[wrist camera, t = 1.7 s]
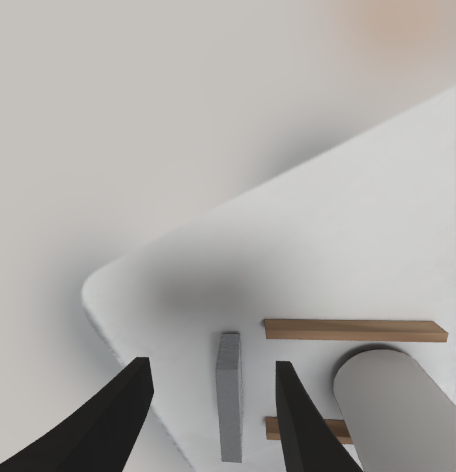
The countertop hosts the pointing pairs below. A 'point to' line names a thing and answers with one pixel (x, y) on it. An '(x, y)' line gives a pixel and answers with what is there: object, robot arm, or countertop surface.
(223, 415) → the bar
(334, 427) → the pair of wooden slats
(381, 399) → the can
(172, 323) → the countertop surface
